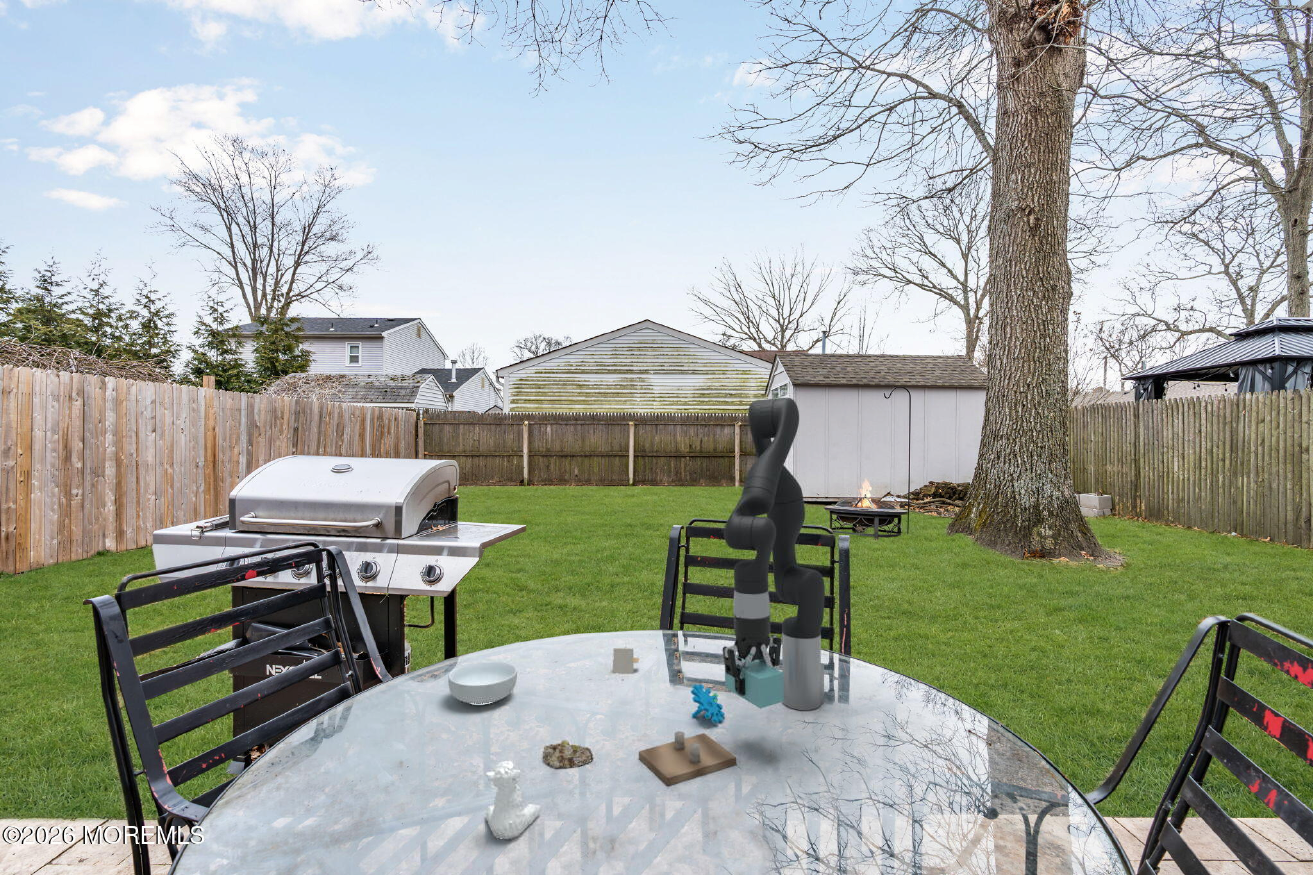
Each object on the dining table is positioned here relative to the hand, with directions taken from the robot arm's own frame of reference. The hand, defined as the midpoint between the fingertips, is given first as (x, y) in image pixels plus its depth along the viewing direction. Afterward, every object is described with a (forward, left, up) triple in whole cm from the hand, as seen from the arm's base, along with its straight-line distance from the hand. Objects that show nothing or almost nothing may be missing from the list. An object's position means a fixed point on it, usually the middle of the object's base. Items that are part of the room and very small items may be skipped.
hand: (753, 690), depth 140 cm
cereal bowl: (+43, -55, -13) cm, 71 cm away
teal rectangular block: (0, 0, -1) cm, 1 cm away
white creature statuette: (+52, +1, -13) cm, 54 cm away
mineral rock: (+35, -16, -13) cm, 41 cm away
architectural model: (+4, -53, -13) cm, 55 cm away
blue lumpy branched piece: (0, -18, -13) cm, 22 cm away
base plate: (+14, -3, -13) cm, 19 cm away
